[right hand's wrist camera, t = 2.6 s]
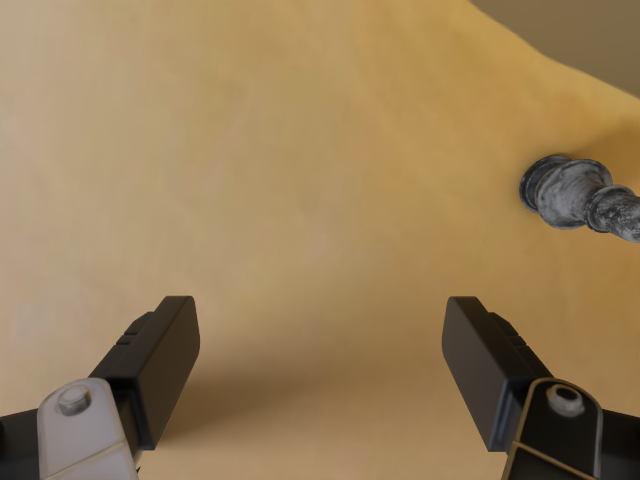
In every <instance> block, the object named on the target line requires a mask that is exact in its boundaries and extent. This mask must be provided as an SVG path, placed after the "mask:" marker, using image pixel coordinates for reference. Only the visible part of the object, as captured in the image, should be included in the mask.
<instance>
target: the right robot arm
mask: <svg viewBox="0 0 640 480" xmlns="http://www.w3.org/2000/svg"><path fill="white" fill-rule="evenodd" d="M199 349H200V334H199V327H198V321H197V314H196V307H195V301H194V298H193V297H192V296H166V297H165V298H164V299H163V301H162V302H161V303H160V305H159V306H158V307H157V308H156V310H155V311H154V312H147V313H146V314H144V315H143V316H141V317H140V318H138V319H137V320H135V321H133V323H132V324H131V325H130V326H129V328H128V329H127V330H126V331H125V332H124V335H122V336H121V337H120V339H119V340H118V341H117V342H116V345H114V346H113V347H112V348H111V350H110V351H109V352H108V353H107V355H106V356H105V357H104V358H103V359H102V361H101V362H100V363H99V364H98V366H97V367H96V368H95V369H94V370H93V372H92V373H91V374H90V375H89V377H88V378H84V379H80V380H76V381H73V382H71V383H68V384H66V385H64V386H62V387H60V388H58V389H57V390H55V391H54V392H53V393H51V394H50V395H49V396H48V397H47V398H46V399H45V400H44V401H43V402H42V403H41V405H40V406H39V408H37V409H33V410H29V411H24V412H20V413H16V414H11V415H7V416H3V417H0V480H139V478H138V475H137V473H138V471H139V469H140V467H141V466H140V467H139V468H138V469H137V470H136V466H137V464H138V462H139V460H140V458H141V456H142V454H143V452H144V450H155V448H156V445H157V443H158V441H159V439H160V437H161V435H162V433H163V430H164V428H165V426H166V424H167V422H168V420H169V417H170V415H171V413H172V411H173V409H174V407H175V405H176V402H177V400H178V398H179V396H180V394H181V392H182V389H183V387H184V385H185V383H186V381H187V379H188V376H189V374H190V372H191V370H192V368H193V366H194V364H195V361H196V359H197V357H198V354H199ZM442 351H443V355H444V358H445V360H446V362H447V365H448V367H449V369H450V371H451V373H452V375H453V377H454V379H455V382H456V384H457V386H458V388H459V390H460V392H461V394H462V396H463V399H464V401H465V403H466V405H467V407H468V409H469V411H470V414H471V416H472V418H473V420H474V422H475V424H476V426H477V428H478V431H479V433H480V435H481V437H482V439H483V441H484V443H485V445H486V448H487V450H488V452H506V453H507V455H508V458H507V461H506V465H505V468H504V471H503V475H502V478H501V480H640V418H639V417H635V416H631V415H626V414H622V413H618V412H613V411H609V410H605V409H602V408H601V406H600V405H599V403H598V402H597V401H596V400H595V399H594V398H593V397H592V396H591V395H590V394H589V393H587V392H586V391H585V390H583V389H582V388H580V387H578V386H576V385H574V384H572V383H569V382H567V381H564V380H560V379H556V378H554V376H553V375H552V374H551V373H550V372H549V370H548V369H547V368H546V367H545V366H544V364H543V363H542V362H541V361H540V359H539V358H538V357H537V356H536V355H535V353H534V352H533V351H532V350H531V349H530V347H529V346H526V342H525V341H524V340H523V339H522V338H521V336H518V333H517V332H516V330H515V329H514V328H513V327H512V325H511V324H510V323H509V322H508V321H506V320H505V319H503V318H502V317H500V316H499V315H497V314H496V313H494V312H488V311H487V310H486V309H485V308H484V306H483V305H482V304H481V302H480V301H479V300H478V299H477V297H474V296H451V297H449V299H448V302H447V307H446V314H445V320H444V327H443V334H442Z"/></svg>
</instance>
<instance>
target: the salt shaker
mask: <svg viewBox="0 0 640 480" xmlns="http://www.w3.org/2000/svg"><path fill="white" fill-rule="evenodd" d="M520 198H521V200H522V203H523V204H524V205H525V206H526V208H528V209H529V210H531V211H532V212H535V213H539V214H540V216H541V217H542V219H543V220H544V221H545V222H546V223H547V224H549V225H550V226H552V227H554V228H558V229H562V230H565V229H575V228H579V227H582V226H584V225H587V226H588V227H589V228H590V229H591V230H593V231H595V232H599V233H608V232H610V233H612V234H614V235H616V236H618V237H620V238H623V239H625V240H627V241H630V242H634V243H640V197H638V196H635V194H634V193H633V191H632V190H631V189H629V188H628V187H625V186H622V185H613V181H612V178H611V174H610V172H609V171H608V170H607V168H606V167H605V166H604V165H602V164H601V163H599V162H597V161H594V160H590V159H577V160H574V161H572V160H570V159H569V158H566V157H562V156H551V157H547V158H544V159H542V160H540V161H538V162H536V163H535V164H534V165H533V166H531V167H530V168H529V170H528V171H527V172H526V173H525V175H524V177H523V179H522V181H521V185H520Z"/></svg>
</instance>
